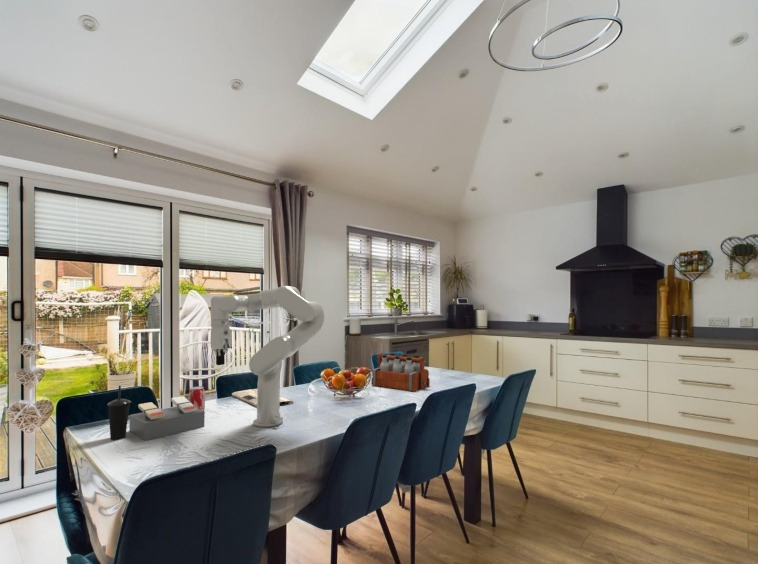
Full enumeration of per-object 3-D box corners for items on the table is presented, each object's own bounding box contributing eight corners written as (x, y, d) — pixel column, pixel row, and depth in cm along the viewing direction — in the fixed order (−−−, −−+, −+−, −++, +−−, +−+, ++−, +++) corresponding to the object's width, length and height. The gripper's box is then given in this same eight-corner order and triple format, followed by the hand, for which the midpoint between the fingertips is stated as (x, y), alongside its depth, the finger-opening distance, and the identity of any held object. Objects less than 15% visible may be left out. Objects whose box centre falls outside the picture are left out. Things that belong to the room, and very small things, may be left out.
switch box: (204, 426, 171) (204, 408, 171) (144, 440, 153) (145, 420, 154) (181, 416, 185) (181, 399, 186) (124, 428, 168) (125, 409, 168)
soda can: (198, 415, 187) (199, 389, 187) (184, 414, 188) (185, 388, 188) (207, 411, 193) (208, 386, 194) (194, 410, 195) (195, 385, 195)
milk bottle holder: (417, 392, 236) (417, 359, 237) (368, 385, 255) (368, 354, 256) (433, 386, 253) (433, 355, 254) (386, 380, 273) (386, 351, 274)
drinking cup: (112, 442, 151) (114, 388, 152) (102, 439, 155) (104, 386, 156) (133, 437, 158) (135, 385, 158) (123, 433, 162) (125, 383, 163)
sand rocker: (164, 417, 160) (164, 413, 160) (150, 420, 157) (151, 416, 157) (151, 405, 170) (151, 401, 170) (138, 407, 166) (138, 403, 166)
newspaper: (231, 397, 225) (231, 392, 225) (264, 391, 238) (264, 387, 238) (261, 410, 197) (261, 405, 198) (296, 404, 210) (296, 398, 210)
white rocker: (196, 411, 170) (197, 407, 170) (184, 413, 167) (185, 410, 166) (182, 399, 179) (183, 395, 179) (171, 401, 176) (171, 397, 175)
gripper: (236, 323, 180) (237, 364, 179) (218, 322, 189) (219, 362, 188) (221, 324, 174) (221, 367, 173) (203, 323, 183) (203, 364, 182)
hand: (220, 364), depth 181 cm, fingers closed
